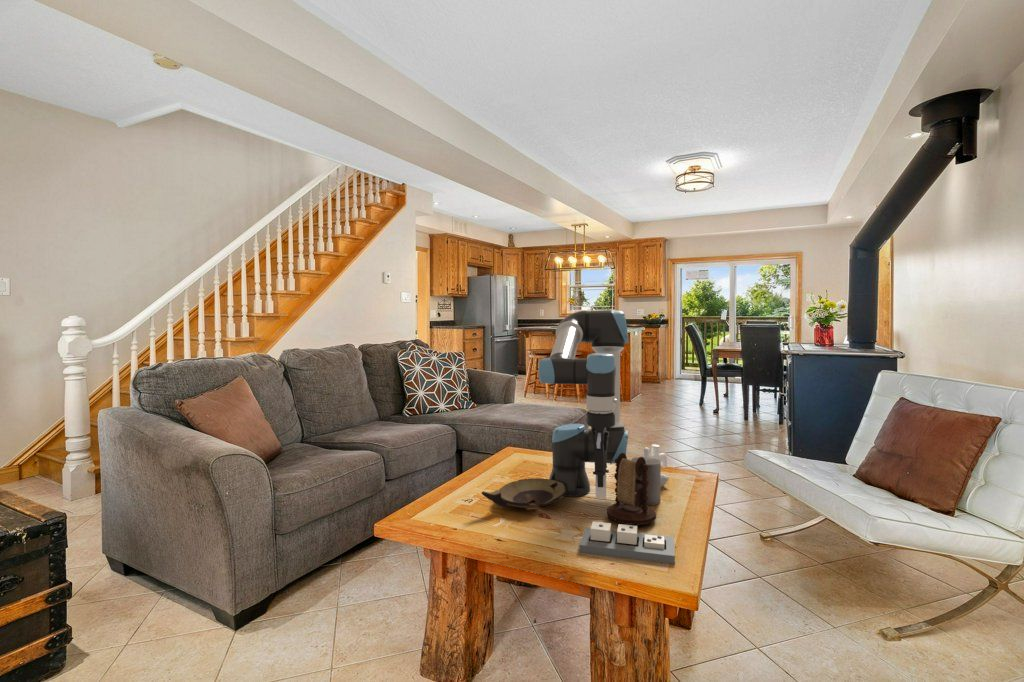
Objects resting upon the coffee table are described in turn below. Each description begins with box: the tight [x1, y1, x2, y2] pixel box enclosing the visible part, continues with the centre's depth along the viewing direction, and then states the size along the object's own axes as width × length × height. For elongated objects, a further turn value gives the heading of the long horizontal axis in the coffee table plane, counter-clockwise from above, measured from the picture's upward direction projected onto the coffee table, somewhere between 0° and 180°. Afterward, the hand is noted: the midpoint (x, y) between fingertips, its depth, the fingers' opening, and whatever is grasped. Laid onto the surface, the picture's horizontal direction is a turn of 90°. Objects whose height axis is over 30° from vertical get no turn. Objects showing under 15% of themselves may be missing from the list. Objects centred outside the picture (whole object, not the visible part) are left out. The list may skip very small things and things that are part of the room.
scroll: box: [606, 453, 657, 529], centre depth 155 cm, size 15×15×20 cm
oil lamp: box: [481, 477, 566, 509], centre depth 168 cm, size 22×30×8 cm
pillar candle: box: [631, 456, 662, 506], centre depth 171 cm, size 10×10×15 cm
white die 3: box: [643, 534, 665, 550], centre depth 134 cm, size 5×5×3 cm
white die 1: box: [590, 521, 612, 543], centre depth 138 cm, size 5×5×3 cm
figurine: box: [643, 443, 670, 488], centre depth 186 cm, size 7×9×15 cm
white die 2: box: [616, 523, 638, 546], centre depth 136 cm, size 5×5×3 cm
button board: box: [578, 526, 676, 564], centre depth 136 cm, size 24×12×2 cm, turn 74°
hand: (600, 497), depth 137 cm, fingers closed
